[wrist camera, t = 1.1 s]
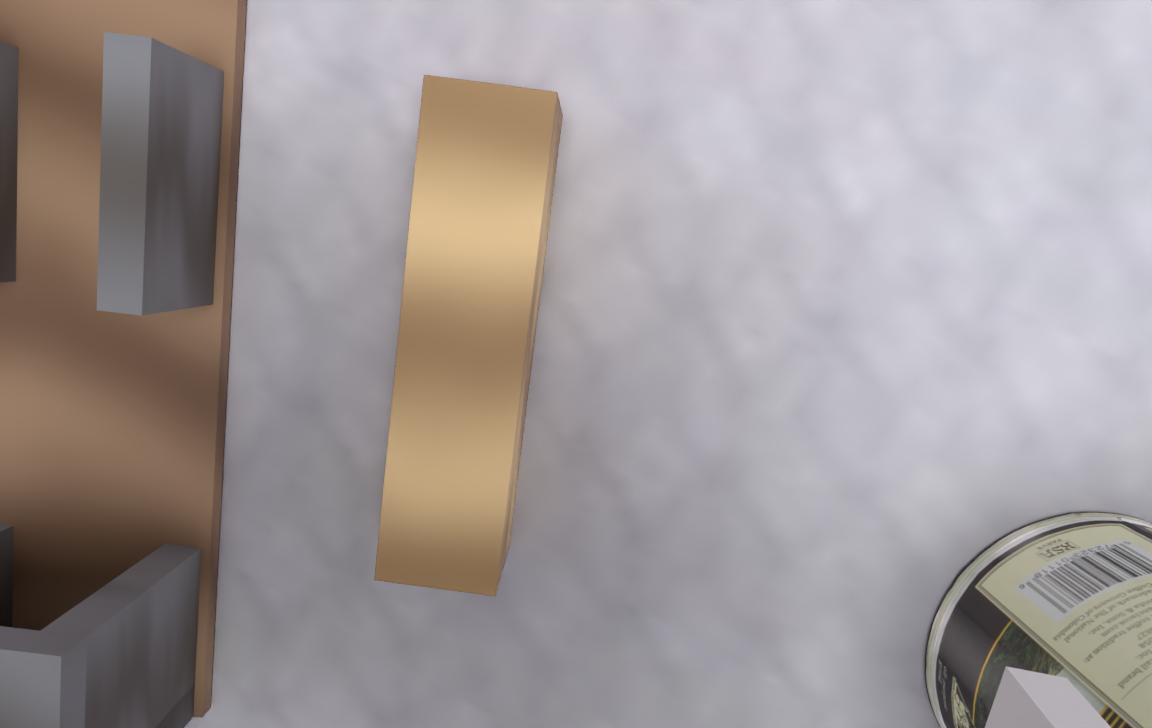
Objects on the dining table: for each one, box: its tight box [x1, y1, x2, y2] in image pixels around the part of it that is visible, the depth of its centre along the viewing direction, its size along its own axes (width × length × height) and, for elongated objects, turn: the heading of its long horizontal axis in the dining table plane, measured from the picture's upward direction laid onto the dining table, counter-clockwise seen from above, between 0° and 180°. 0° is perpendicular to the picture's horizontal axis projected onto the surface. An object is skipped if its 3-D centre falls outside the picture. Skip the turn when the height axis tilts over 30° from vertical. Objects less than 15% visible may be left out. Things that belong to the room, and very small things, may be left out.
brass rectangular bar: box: [374, 75, 563, 596], centre depth 24 cm, size 14×4×4 cm, turn 173°
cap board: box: [0, 0, 247, 728], centre depth 22 cm, size 24×8×8 cm, turn 173°
